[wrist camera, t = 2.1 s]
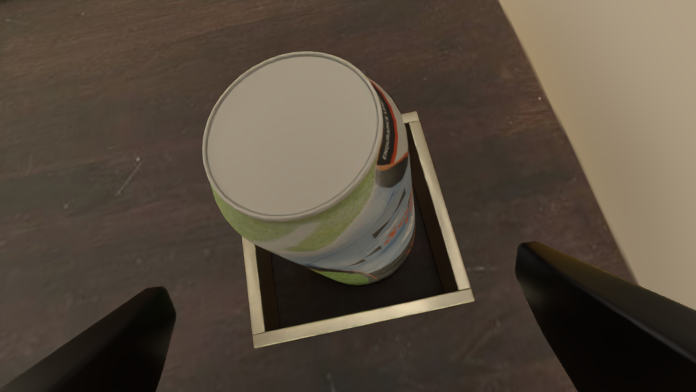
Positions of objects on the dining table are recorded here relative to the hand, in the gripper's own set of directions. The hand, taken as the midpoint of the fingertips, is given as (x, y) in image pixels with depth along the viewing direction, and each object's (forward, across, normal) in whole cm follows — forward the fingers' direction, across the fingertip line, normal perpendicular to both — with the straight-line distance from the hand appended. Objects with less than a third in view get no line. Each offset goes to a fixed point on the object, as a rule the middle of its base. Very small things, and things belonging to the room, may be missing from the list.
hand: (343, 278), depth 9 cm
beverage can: (+10, 0, +5) cm, 11 cm away
